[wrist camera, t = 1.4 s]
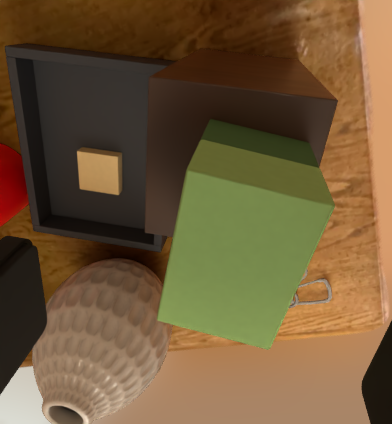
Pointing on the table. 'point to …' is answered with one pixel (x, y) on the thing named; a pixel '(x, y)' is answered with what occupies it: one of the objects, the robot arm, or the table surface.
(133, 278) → the vase
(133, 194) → the pan
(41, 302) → the robot arm
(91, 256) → the table surface
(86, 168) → the tan square tile
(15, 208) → the mug
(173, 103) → the stand
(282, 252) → the sponge
